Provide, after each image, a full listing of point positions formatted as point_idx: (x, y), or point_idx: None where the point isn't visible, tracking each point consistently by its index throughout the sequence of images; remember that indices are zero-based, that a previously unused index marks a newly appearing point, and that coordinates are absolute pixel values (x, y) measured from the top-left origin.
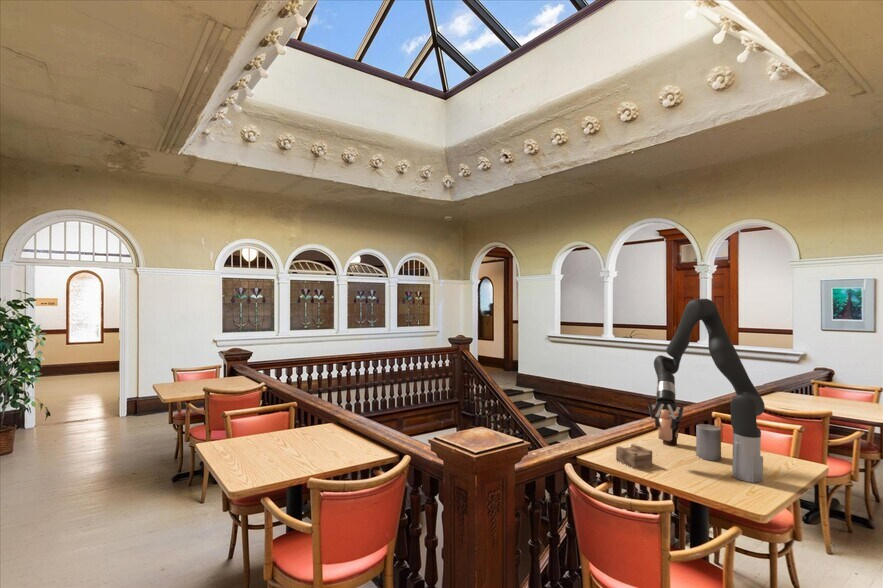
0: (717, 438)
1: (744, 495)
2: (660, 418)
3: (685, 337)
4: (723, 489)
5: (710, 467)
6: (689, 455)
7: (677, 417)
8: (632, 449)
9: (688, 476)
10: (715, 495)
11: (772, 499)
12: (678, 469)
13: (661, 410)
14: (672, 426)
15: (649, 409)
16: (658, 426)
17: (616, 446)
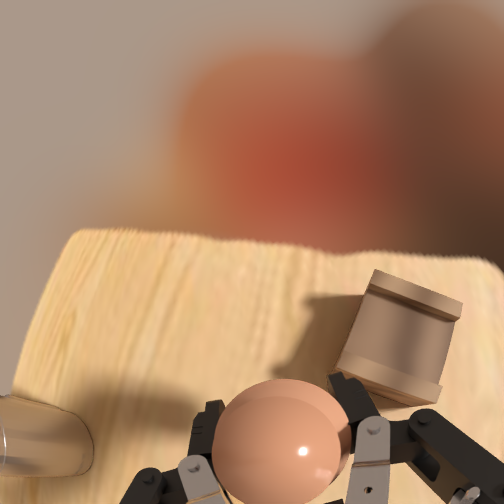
0: None
1: (79, 305)
2: (325, 407)
3: None
4: (112, 313)
5: None
6: None
7: (166, 484)
8: (419, 360)
9: (197, 358)
10: (132, 259)
11: (42, 320)
12: None
13: (324, 415)
14: (217, 400)
15: (479, 459)
16: (328, 386)
17: (462, 303)
